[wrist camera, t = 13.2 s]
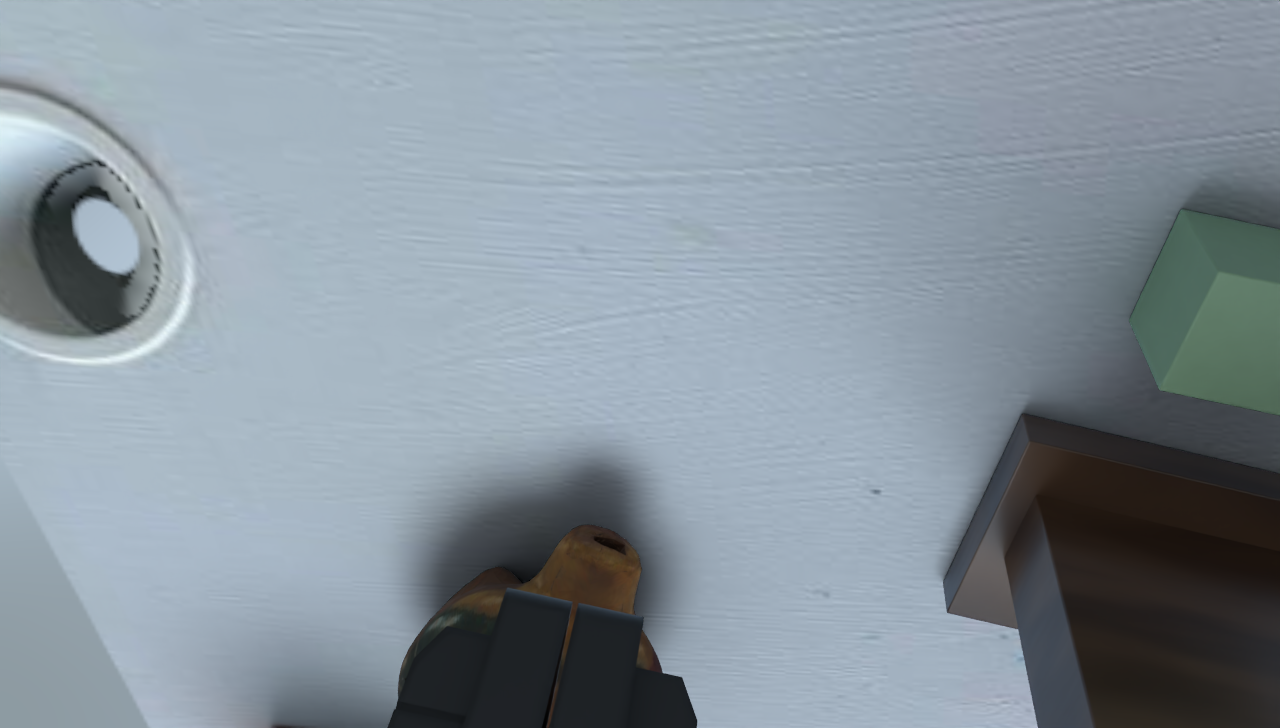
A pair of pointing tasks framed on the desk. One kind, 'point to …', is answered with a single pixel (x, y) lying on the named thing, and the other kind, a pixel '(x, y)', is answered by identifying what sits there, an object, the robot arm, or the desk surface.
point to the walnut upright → (1129, 580)
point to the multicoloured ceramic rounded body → (550, 592)
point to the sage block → (1214, 313)
